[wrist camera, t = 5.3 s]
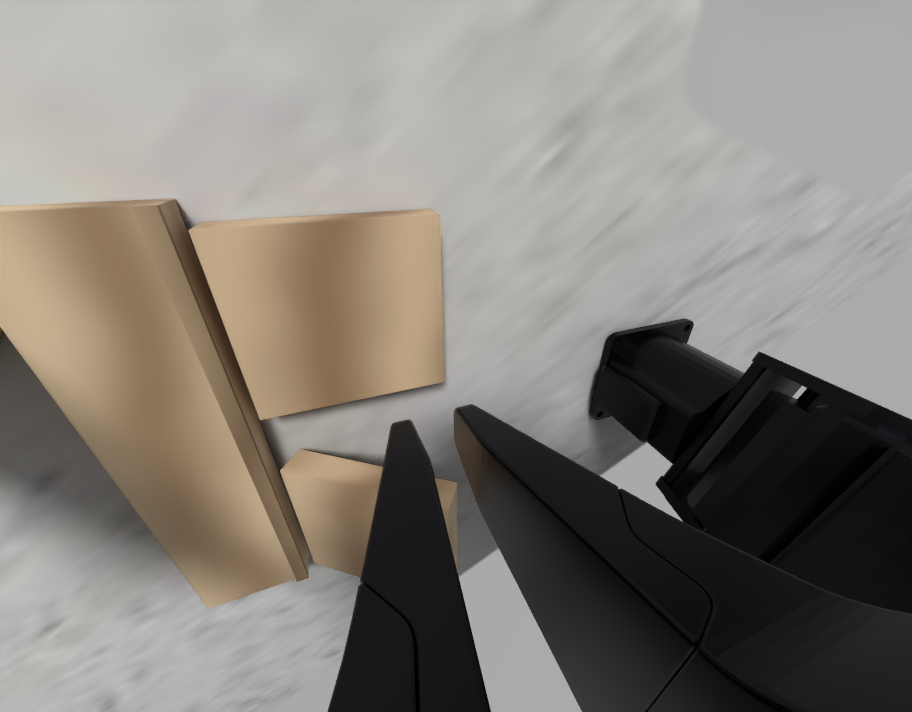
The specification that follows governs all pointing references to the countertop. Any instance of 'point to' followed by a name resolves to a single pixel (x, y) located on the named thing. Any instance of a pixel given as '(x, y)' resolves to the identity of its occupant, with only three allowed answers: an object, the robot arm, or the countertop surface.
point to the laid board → (151, 384)
